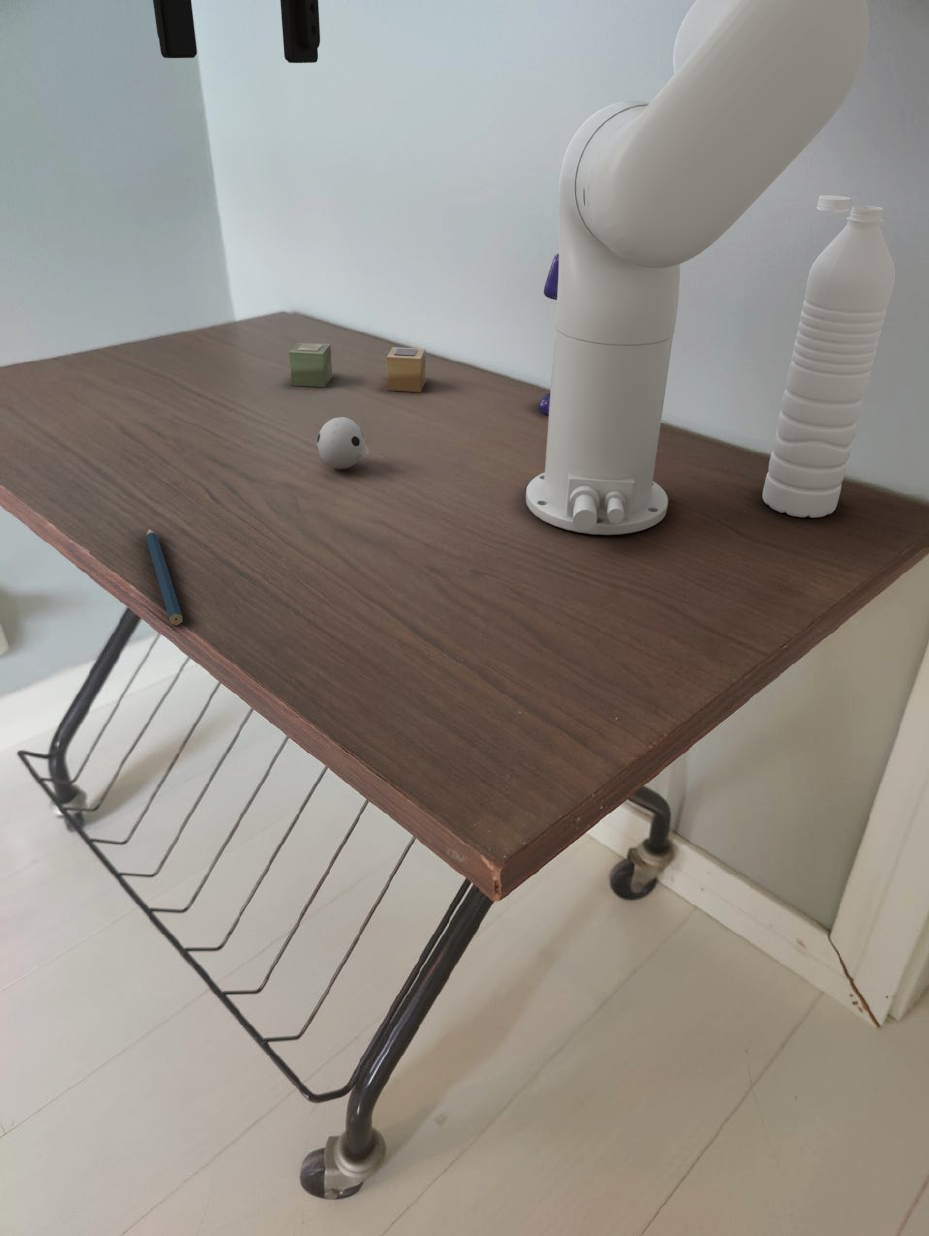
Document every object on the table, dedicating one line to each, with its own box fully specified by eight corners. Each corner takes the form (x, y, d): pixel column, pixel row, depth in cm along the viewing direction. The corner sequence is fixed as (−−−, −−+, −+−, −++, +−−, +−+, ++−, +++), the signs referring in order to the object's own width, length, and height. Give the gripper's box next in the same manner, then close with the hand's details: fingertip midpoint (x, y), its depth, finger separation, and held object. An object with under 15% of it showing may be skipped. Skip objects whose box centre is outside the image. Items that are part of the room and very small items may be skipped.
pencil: (185, 616, 64) (156, 526, 76) (171, 612, 64) (145, 522, 75) (180, 626, 65) (152, 534, 76) (166, 622, 64) (141, 530, 76)
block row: (420, 392, 107) (420, 357, 105) (291, 385, 108) (288, 351, 106) (425, 381, 111) (425, 347, 108) (300, 375, 112) (297, 341, 110)
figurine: (362, 480, 86) (359, 430, 83) (311, 475, 87) (307, 425, 84) (377, 460, 90) (375, 412, 87) (329, 455, 91) (326, 407, 88)
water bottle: (850, 515, 81) (933, 211, 68) (786, 522, 80) (857, 213, 66) (796, 476, 88) (860, 194, 75) (735, 482, 87) (790, 195, 73)
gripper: (40, -297, 52) (98, 56, 61) (304, -326, 47) (324, 65, 56) (128, -262, 58) (168, 55, 67) (371, -284, 53) (379, 63, 62)
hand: (239, 59), depth 61 cm, fingers open, 9 cm apart
